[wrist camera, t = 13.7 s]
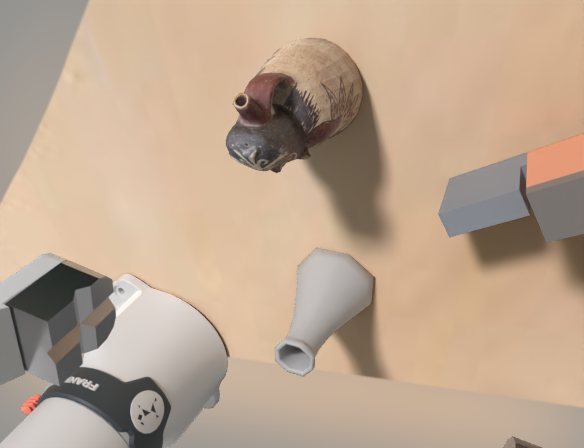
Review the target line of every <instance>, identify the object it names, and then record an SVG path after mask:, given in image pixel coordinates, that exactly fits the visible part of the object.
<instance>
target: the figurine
mask: <svg viewBox="0 0 584 448" xmlns="http://www.w3.org/2000/svg"><path fill="white" fill-rule="evenodd" d="M361 99H362V82H361V78H360V74H359V71H358V69H357V66H356V64H355V63H354V61H353V60H352V59H351V57H350V56H349V55H348V53H346V52H345V51H344V50H343V49H341V48H340V47H339V46H338V45H336V44H334V43H332V42H330V41H328V40H325V39H317V38H306V39H300V40H295V41H292V42H291V43H289V44H287V45H285V46H284V47H282V48H280V49H278V50H277V51H276V52H275V53H274V54H273V55H272V57H271V58H270V59H269V60H268V61H267V62H266V63H265V64H264V66H263V67H262V68H261V70H260V71H259V72H258V74H257V75H256V76H255V77H254V78H253V79H252V80H251V81H250V82H249V84H248V85H247V87H246V89H245V92H244V93H239V94H238V95H237V96H236V97H235V99H234V101H233V105H234V107H235V108H236V110H237V111H238V112H239V114H240V115H239V118H238V120H237V122H236V124H235V125H234V126H233V127H232V129H231V130H230V131H229V133H228V135H227V138H226V146H227V148H228V151H229V155H230V157H231V158H232V159H234V160H236V161H238V162H239V163H241V164H244V165H246V166H248V167H250V168H253V169H256V170H259V171H268V170H271V171H273V172H276V173H278V172H280V171H281V169H282V167H283V166H284V165H285V163H287V162H290V161H292V160H295V159H308V158H309V157H310V156H311V155H310V154H309V153H308V148H310V147H314V146H317V145H319V144H321V143H323V142H324V141H326V140H327V139H329V138H331V137H333V136H335V135H337V134H339V133H340V132H342V131H343V130H345V129H346V128H347V127H348V126H349V125H350V124H351V123H352V122H353V120H354V119H355V117H356V115H357V113H358V110H359V108H360V104H361Z"/></svg>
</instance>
